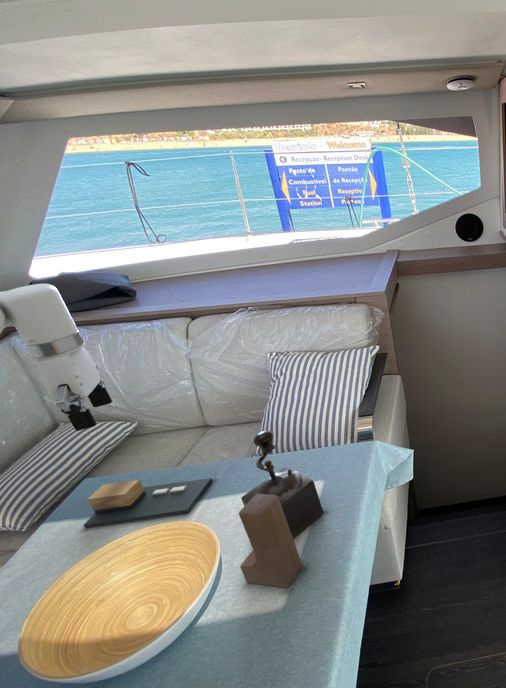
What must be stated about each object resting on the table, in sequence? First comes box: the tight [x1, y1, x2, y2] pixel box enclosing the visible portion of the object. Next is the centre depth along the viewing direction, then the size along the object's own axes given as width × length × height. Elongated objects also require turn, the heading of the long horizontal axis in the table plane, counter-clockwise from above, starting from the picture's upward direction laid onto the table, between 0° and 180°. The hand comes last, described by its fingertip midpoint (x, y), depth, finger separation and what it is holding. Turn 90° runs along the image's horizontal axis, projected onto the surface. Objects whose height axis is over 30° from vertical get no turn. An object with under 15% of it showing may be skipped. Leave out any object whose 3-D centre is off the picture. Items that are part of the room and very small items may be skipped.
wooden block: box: [238, 494, 303, 589], centre depth 75 cm, size 9×4×18 cm, turn 80°
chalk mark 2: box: [170, 486, 187, 493], centre depth 100 cm, size 3×1×1 cm, turn 97°
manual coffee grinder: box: [240, 430, 325, 540], centre depth 88 cm, size 16×11×18 cm
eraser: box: [87, 479, 146, 514], centre depth 97 cm, size 8×4×4 cm, turn 97°
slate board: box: [83, 477, 214, 529], centre depth 98 cm, size 22×10×1 cm, turn 97°
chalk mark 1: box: [152, 488, 169, 495], centre depth 100 cm, size 3×1×1 cm, turn 97°
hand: (95, 415), depth 89 cm, fingers open, 9 cm apart
